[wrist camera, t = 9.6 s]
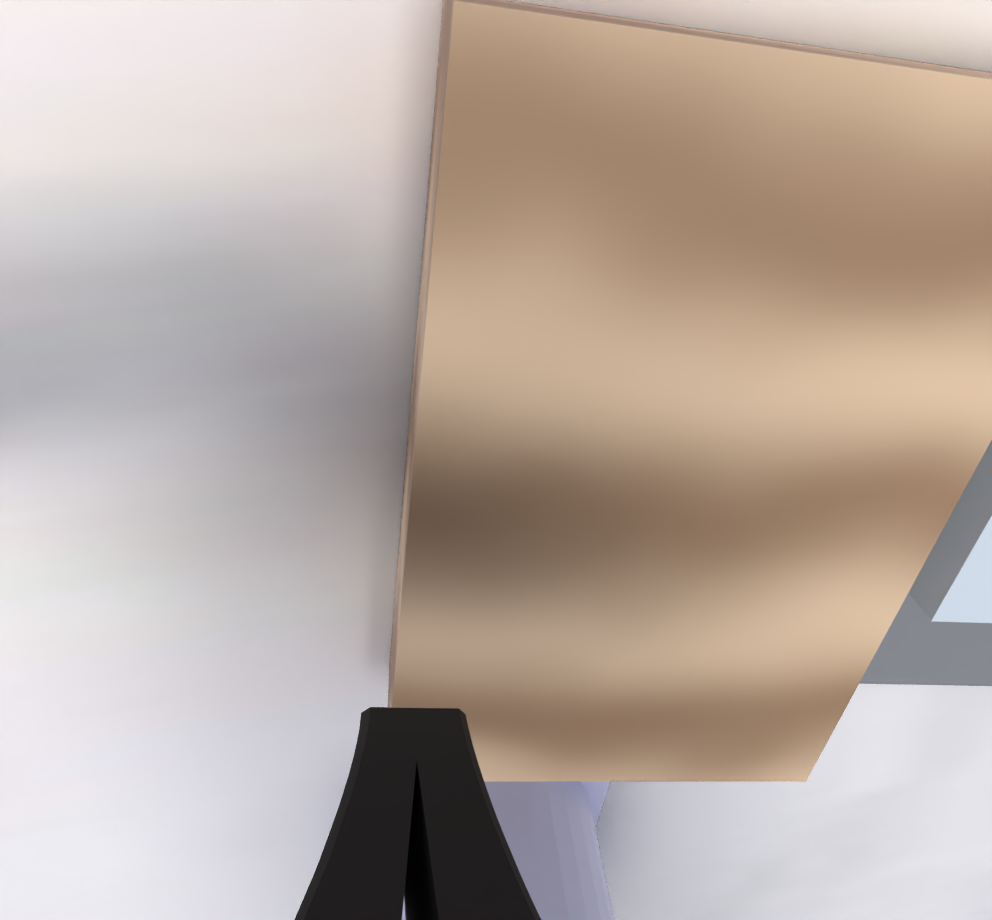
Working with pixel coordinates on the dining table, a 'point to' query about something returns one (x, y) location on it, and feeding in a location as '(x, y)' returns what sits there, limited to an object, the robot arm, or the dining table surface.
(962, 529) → the tile
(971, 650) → the mat
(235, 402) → the dining table surface
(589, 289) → the tan flat wooden block
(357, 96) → the dining table surface
